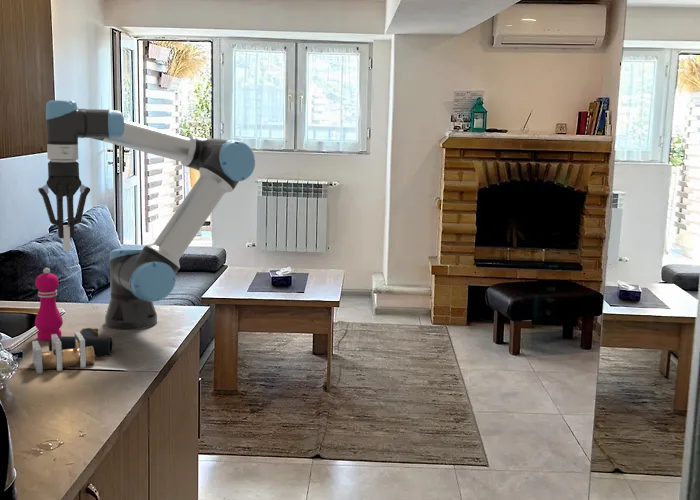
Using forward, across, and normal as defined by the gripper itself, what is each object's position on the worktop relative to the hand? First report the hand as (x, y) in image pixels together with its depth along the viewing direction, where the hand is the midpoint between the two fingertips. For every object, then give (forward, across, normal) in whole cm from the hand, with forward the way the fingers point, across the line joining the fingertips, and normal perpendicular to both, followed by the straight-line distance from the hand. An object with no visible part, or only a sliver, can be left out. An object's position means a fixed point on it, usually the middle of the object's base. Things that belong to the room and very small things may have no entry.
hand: (66, 250), depth 196 cm
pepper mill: (+27, -4, +10) cm, 29 cm away
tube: (+27, -3, -16) cm, 31 cm away
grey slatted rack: (+26, -5, -16) cm, 31 cm away
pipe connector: (+27, +3, -6) cm, 28 cm away
